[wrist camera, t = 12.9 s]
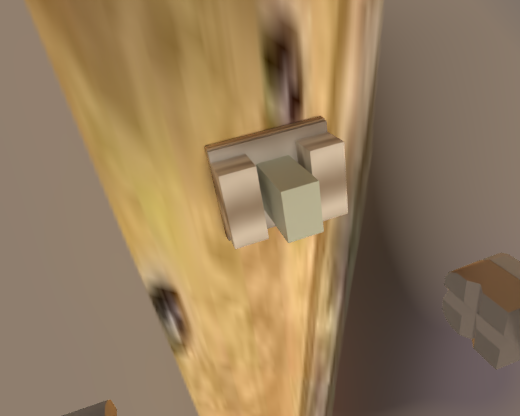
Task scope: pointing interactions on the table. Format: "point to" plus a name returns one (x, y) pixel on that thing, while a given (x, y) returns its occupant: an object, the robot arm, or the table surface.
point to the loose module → (291, 197)
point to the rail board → (264, 149)
